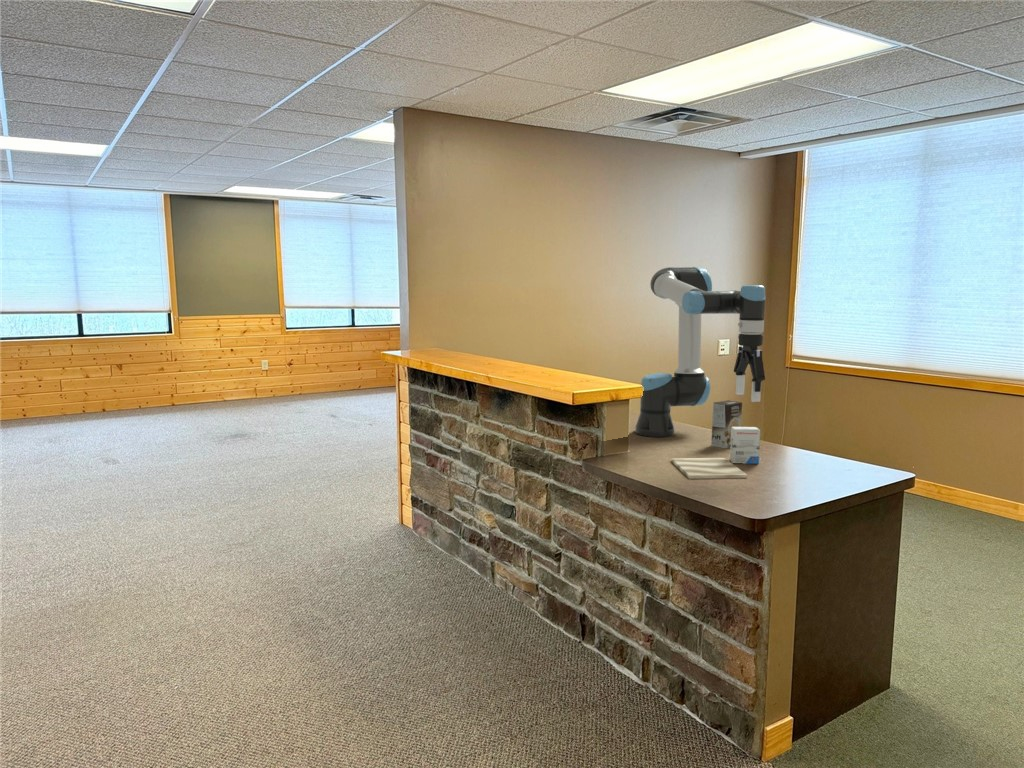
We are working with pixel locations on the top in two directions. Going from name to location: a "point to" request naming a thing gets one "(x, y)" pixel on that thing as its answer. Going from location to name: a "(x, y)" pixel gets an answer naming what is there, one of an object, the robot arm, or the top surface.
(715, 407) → the coffee box
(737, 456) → the ink box
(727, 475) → the cloth
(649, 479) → the top surface
